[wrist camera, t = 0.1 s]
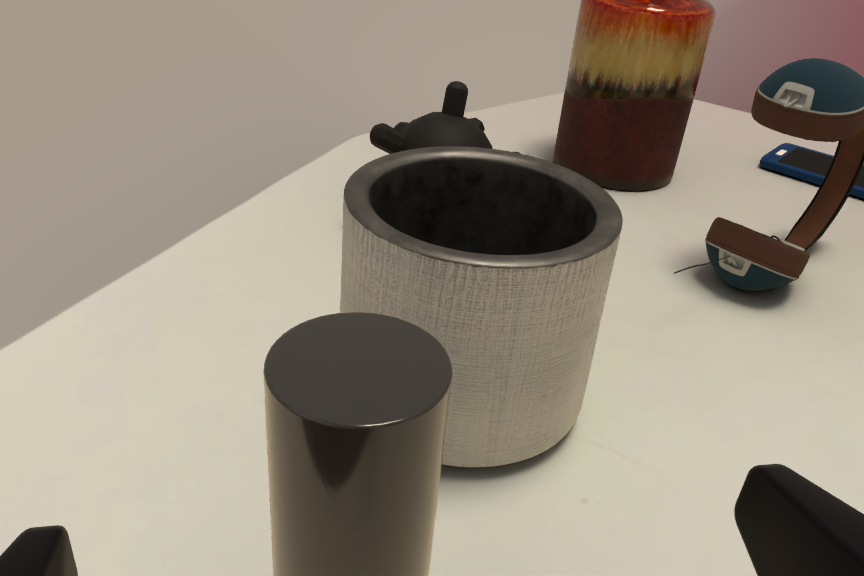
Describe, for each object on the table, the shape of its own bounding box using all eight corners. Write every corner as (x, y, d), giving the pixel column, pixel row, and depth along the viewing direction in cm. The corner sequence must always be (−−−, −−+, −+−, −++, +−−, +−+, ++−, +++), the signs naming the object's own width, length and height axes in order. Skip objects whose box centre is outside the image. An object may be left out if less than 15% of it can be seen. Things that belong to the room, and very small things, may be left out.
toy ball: (307, 185, 52) (392, 102, 59) (407, 294, 54) (477, 201, 62) (392, 116, 44) (478, 30, 51) (504, 247, 47) (571, 147, 54)
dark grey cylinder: (428, 721, 24) (471, 420, 17) (278, 742, 23) (263, 433, 17) (405, 593, 28) (434, 308, 21) (277, 608, 27) (263, 313, 20)
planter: (470, 301, 46) (492, 129, 40) (629, 414, 38) (685, 219, 32) (292, 367, 39) (287, 171, 33) (440, 523, 31) (468, 300, 25)
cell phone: (781, 148, 76) (784, 141, 75) (932, 192, 68) (936, 185, 68) (756, 165, 71) (758, 158, 70) (916, 215, 64) (919, 207, 63)
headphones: (706, 345, 42) (852, 270, 56) (806, 77, 35) (943, 69, 50) (617, 296, 46) (774, 238, 60) (691, 47, 39) (849, 47, 53)
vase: (532, 166, 66) (572, -87, 56) (583, 137, 74) (627, -90, 64) (646, 203, 61) (714, -67, 51) (688, 167, 69) (755, -73, 59)
